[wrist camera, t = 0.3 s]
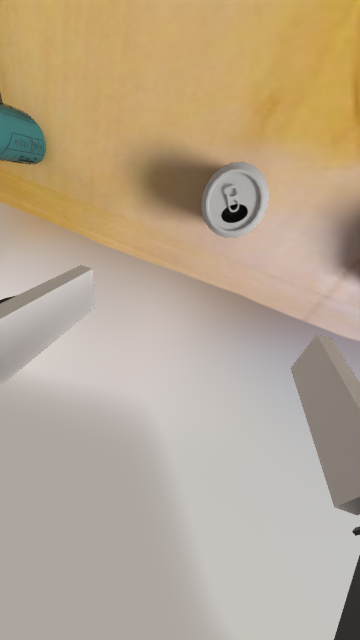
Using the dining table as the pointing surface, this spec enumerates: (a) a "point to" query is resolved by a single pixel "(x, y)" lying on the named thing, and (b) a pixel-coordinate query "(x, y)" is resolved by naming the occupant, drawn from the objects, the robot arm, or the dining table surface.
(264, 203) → the can
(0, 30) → the dining table surface
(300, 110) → the dining table surface
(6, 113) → the beverage bottle
